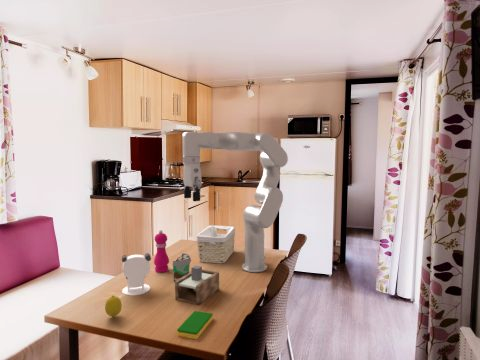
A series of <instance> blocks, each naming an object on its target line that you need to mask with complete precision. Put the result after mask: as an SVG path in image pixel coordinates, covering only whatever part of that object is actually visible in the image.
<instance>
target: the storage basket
mask: <svg viewBox="0 0 480 360" xmlns="http://www.w3.org/2000/svg"><path fill="white" fill-rule="evenodd" d="M218 231H222V232H224V231H225V232H226V233H218ZM235 234H236V228H235V226H229V225H228V226H227V225H208V226H206V227H205V228H204V229H202V231H200V232H199V233H198V234H197V235H196V244H197V245H196V246H197V253H198V254H197V255H198V260H199V262H202V263H211V264H212V263H214V264H225V263H226V262H227V260H228V259H229V258H230V256H231V255H232V254H233V253H234V251H235V236H236V235H235Z"/></svg>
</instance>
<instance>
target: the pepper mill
mask: <svg viewBox="0 0 480 360" xmlns="http://www.w3.org/2000/svg"><path fill="white" fill-rule="evenodd" d="M167 240H168V235H167V234H166V233H164V232H163V230H158V233H157V234H155V236H154V241H155V247H156V253H155V255H154V259H153V264H154V266H155V267H154V270H155V272H156V273H165V272H168V271H169V264H170V258H169V255H168V254H167V252H166V251H167V250H166V247H167V242H168V241H167Z"/></svg>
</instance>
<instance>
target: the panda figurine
mask: <svg viewBox="0 0 480 360" xmlns="http://www.w3.org/2000/svg"><path fill="white" fill-rule="evenodd" d="M151 260H152V257H151V254H150V252H149V253H148V252H147V253H145V254H131V255H129V256H127V255H126V254H125V255H122V256H121V262H122V273H123V275H124V276H125V279H126V280H127V285H126V286H125V287H124V288H122V291H121V293H122V295H126V296H133V297H134V296H140V295H143V294H146V293H147V292H148V293H149V291H150V289H151V287H150V285H149V284H147V283H145V278H146V276H148V275H149V273H150V272H151V271H150V270H151V264H150V261H151Z"/></svg>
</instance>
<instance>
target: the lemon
mask: <svg viewBox="0 0 480 360" xmlns="http://www.w3.org/2000/svg"><path fill="white" fill-rule="evenodd" d="M122 305H123V304H122V300H121V299H120V298H119V296H116V295H111V296H109V297H108V298H107V299H106V301H105V304H104V309H105V312H106V315H108V316H109V317H112V318H116V316H118V315H119V314H120V313H121V311H122Z"/></svg>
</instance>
